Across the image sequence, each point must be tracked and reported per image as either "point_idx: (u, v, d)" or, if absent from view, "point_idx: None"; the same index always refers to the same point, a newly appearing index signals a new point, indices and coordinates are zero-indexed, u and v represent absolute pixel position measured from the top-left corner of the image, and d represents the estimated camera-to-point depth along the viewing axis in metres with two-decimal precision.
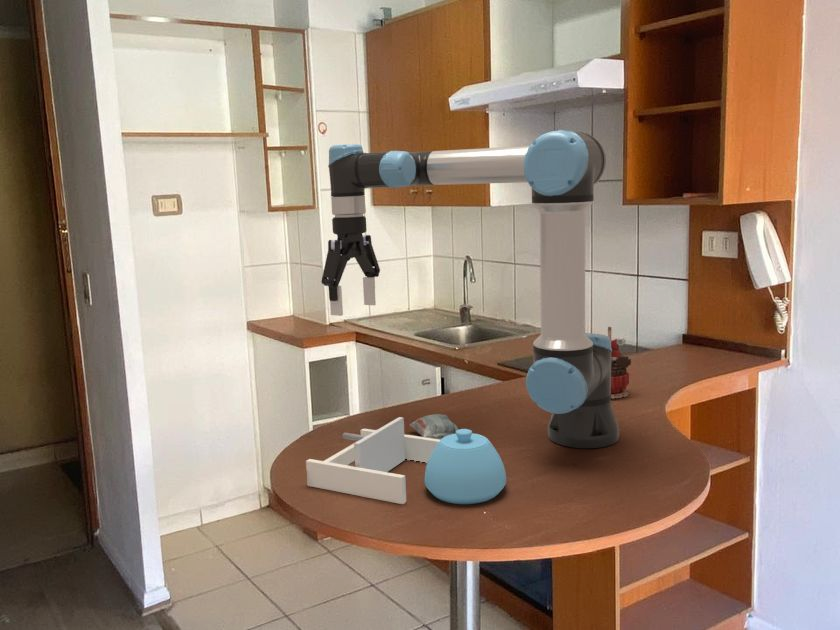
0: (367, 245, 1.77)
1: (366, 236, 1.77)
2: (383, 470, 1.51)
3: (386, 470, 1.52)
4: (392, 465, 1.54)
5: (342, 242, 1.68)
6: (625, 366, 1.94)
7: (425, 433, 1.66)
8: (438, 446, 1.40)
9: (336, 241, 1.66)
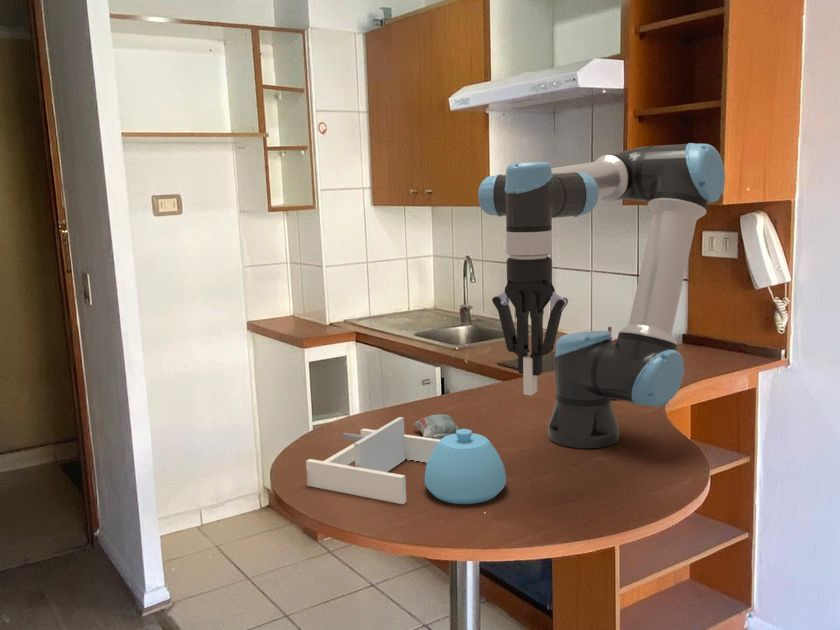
0: None
1: (560, 299, 1.27)
2: (383, 470, 1.51)
3: (386, 470, 1.52)
4: (392, 465, 1.54)
5: (505, 293, 1.31)
6: None
7: (425, 433, 1.66)
8: (438, 446, 1.40)
9: None
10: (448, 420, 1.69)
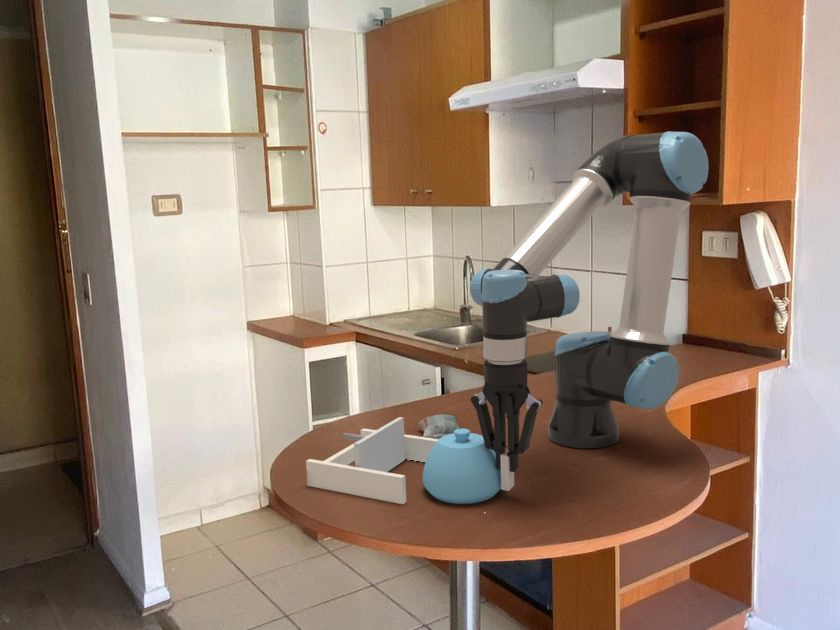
0: (527, 411, 1.33)
1: (534, 402, 1.32)
2: (383, 470, 1.51)
3: (386, 470, 1.52)
4: (392, 465, 1.54)
5: (483, 393, 1.37)
6: None
7: (425, 433, 1.66)
8: (436, 446, 1.41)
9: None
10: (450, 420, 1.69)
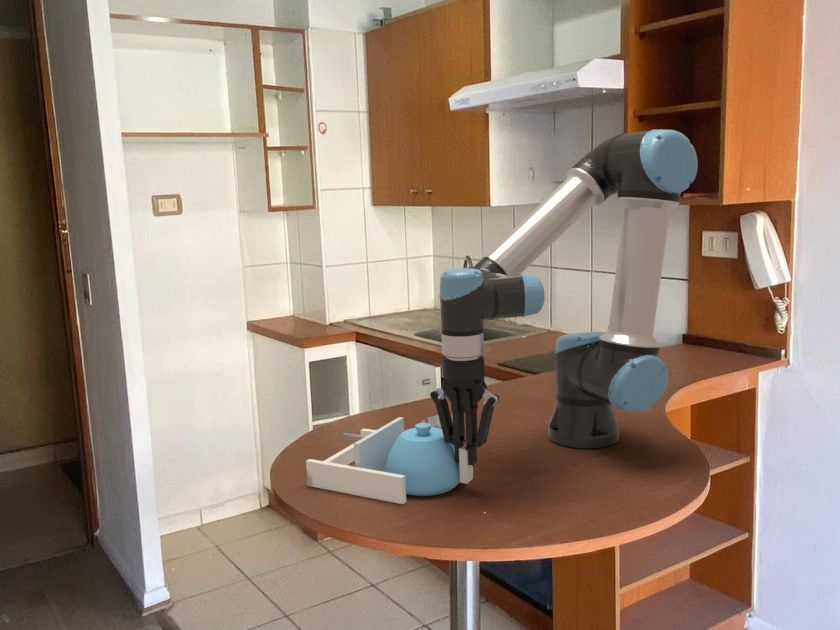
0: None
1: (491, 397, 1.36)
2: (383, 470, 1.51)
3: None
4: None
5: (442, 388, 1.40)
6: None
7: None
8: (398, 439, 1.44)
9: None
10: None
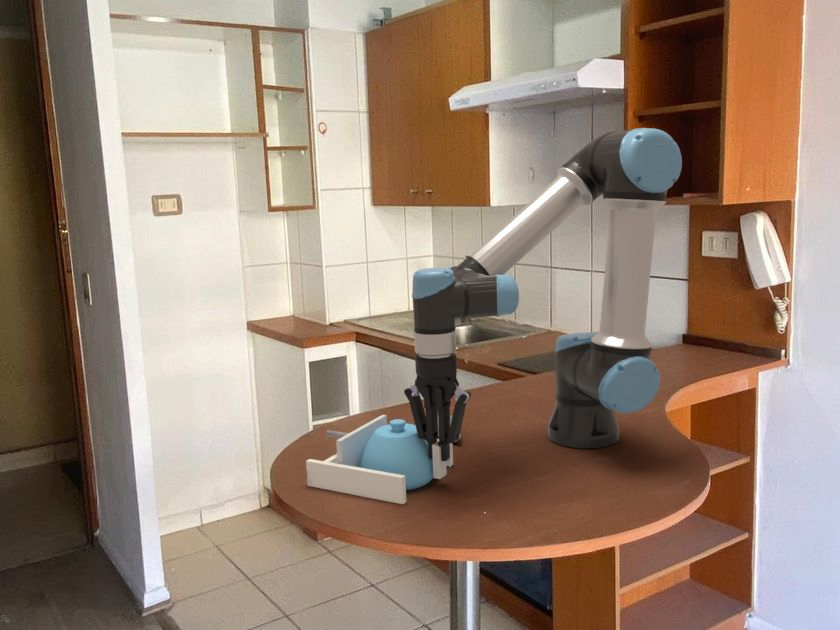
0: None
1: (462, 394, 1.39)
2: None
3: None
4: None
5: (415, 385, 1.43)
6: None
7: None
8: (373, 435, 1.47)
9: None
10: None
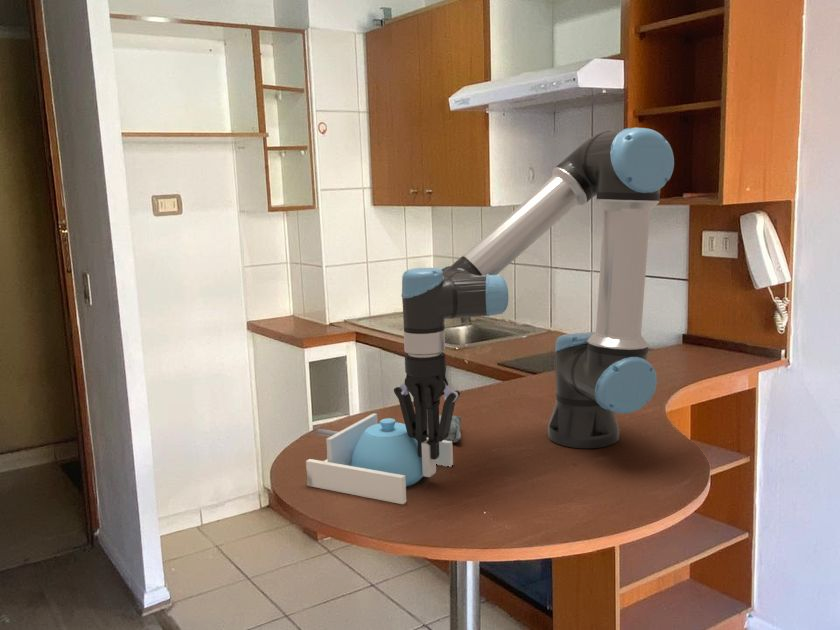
0: None
1: (451, 393, 1.40)
2: None
3: None
4: None
5: (405, 384, 1.44)
6: None
7: None
8: (363, 434, 1.48)
9: None
10: (451, 421, 1.68)
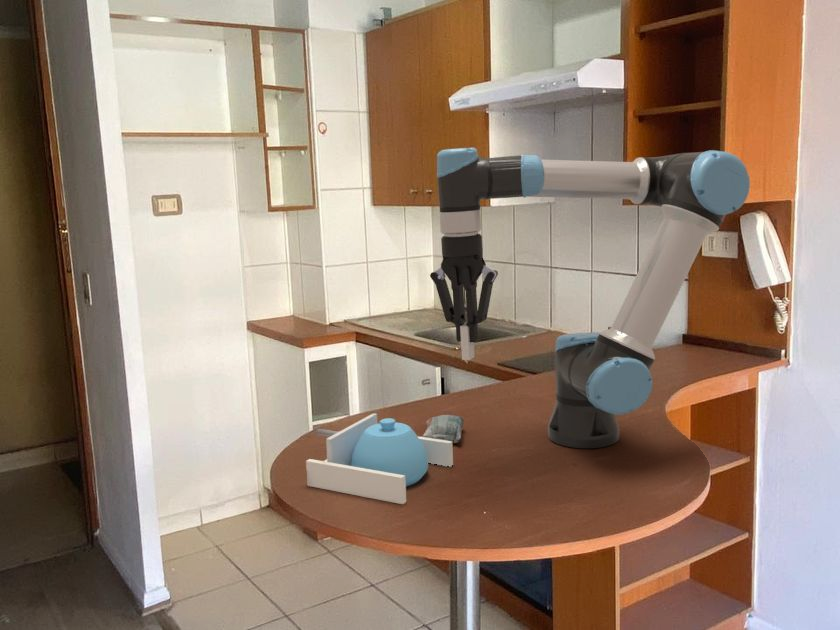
0: None
1: (490, 272, 1.40)
2: None
3: None
4: None
5: (441, 268, 1.44)
6: None
7: (425, 432, 1.66)
8: (363, 434, 1.48)
9: None
10: (452, 421, 1.68)
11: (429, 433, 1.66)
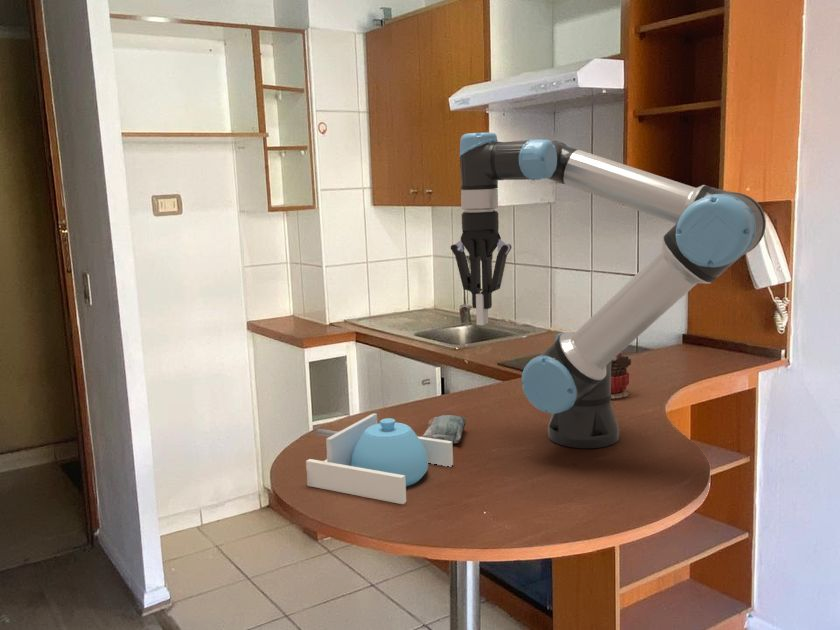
0: None
1: (504, 245, 1.56)
2: None
3: None
4: None
5: (461, 241, 1.60)
6: (625, 366, 1.94)
7: (426, 432, 1.66)
8: (363, 434, 1.48)
9: None
10: (453, 422, 1.68)
11: (429, 433, 1.66)
